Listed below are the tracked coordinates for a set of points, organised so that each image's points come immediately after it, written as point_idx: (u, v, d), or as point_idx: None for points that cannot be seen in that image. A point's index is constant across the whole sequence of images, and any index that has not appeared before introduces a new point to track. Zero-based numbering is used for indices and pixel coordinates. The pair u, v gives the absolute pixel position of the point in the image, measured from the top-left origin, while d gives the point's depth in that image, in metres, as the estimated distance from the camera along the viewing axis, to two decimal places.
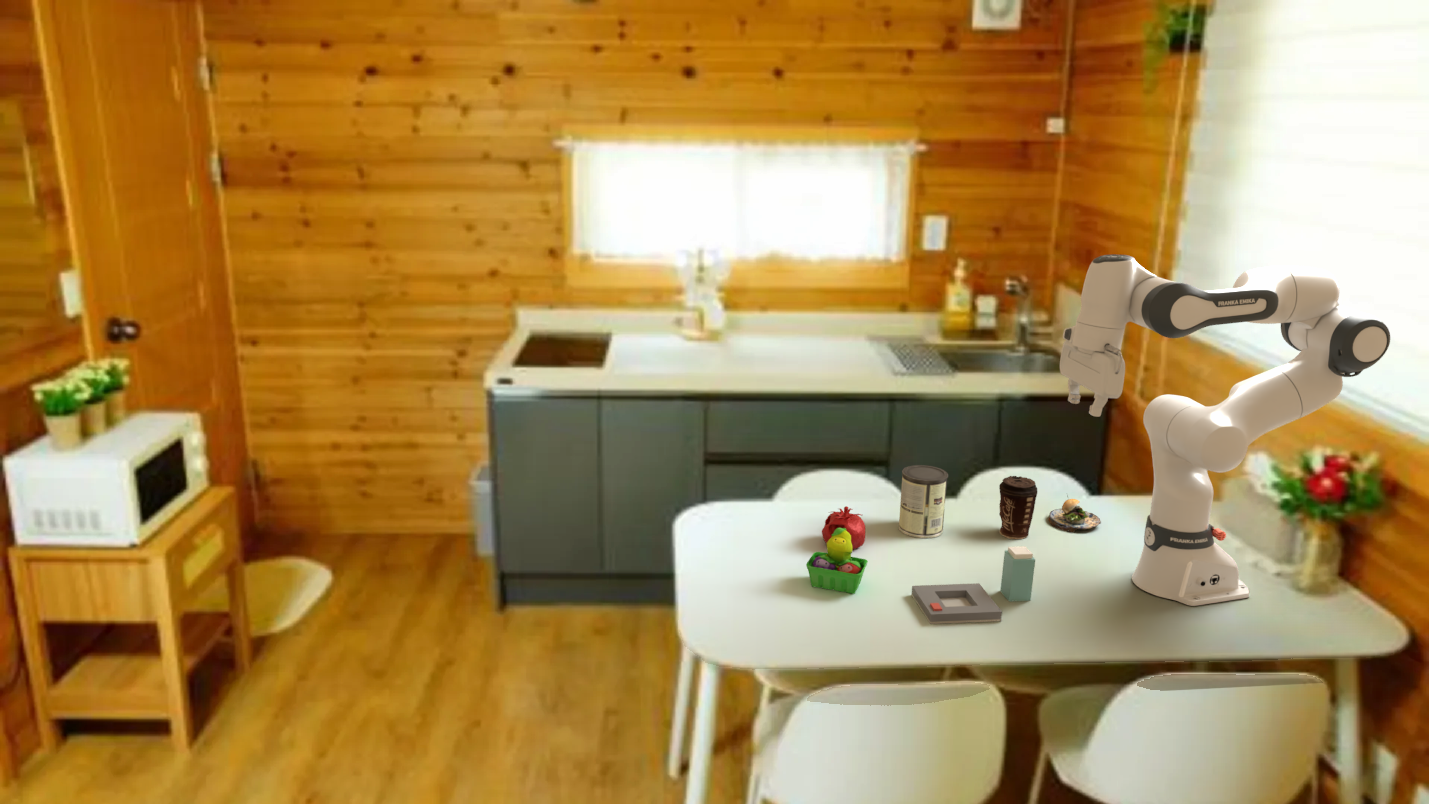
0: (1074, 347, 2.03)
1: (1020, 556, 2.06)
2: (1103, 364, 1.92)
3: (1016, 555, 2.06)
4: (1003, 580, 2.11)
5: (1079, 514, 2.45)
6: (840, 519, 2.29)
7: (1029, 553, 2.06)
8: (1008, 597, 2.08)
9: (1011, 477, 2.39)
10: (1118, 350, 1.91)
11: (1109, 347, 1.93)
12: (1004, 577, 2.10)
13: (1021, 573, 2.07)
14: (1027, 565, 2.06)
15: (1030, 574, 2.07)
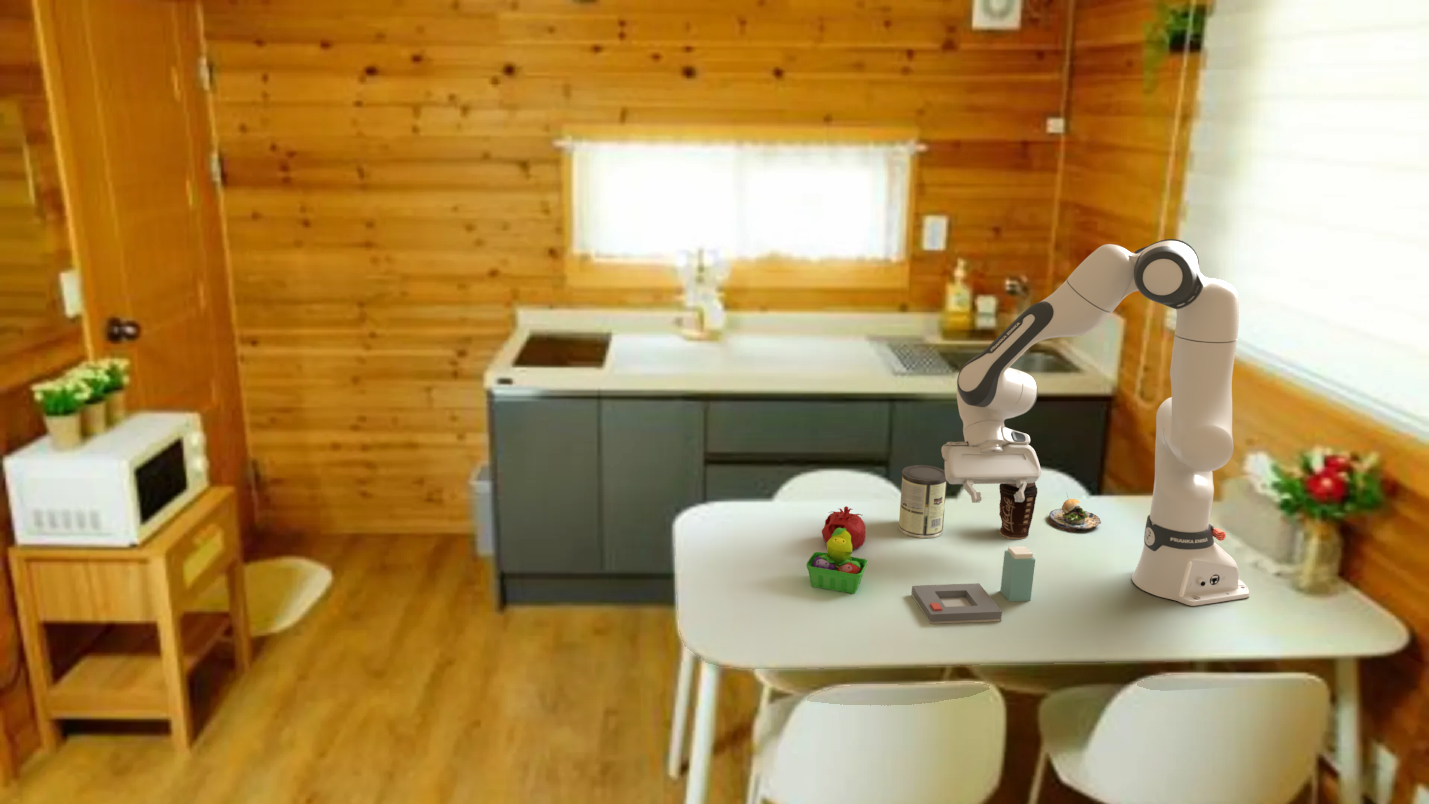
0: None
1: (1020, 556, 2.06)
2: None
3: (1016, 555, 2.06)
4: (1003, 580, 2.11)
5: (1079, 514, 2.45)
6: (840, 519, 2.29)
7: (1029, 553, 2.06)
8: (1008, 597, 2.08)
9: None
10: None
11: None
12: (1004, 577, 2.10)
13: (1021, 573, 2.07)
14: (1027, 565, 2.06)
15: (1030, 574, 2.07)
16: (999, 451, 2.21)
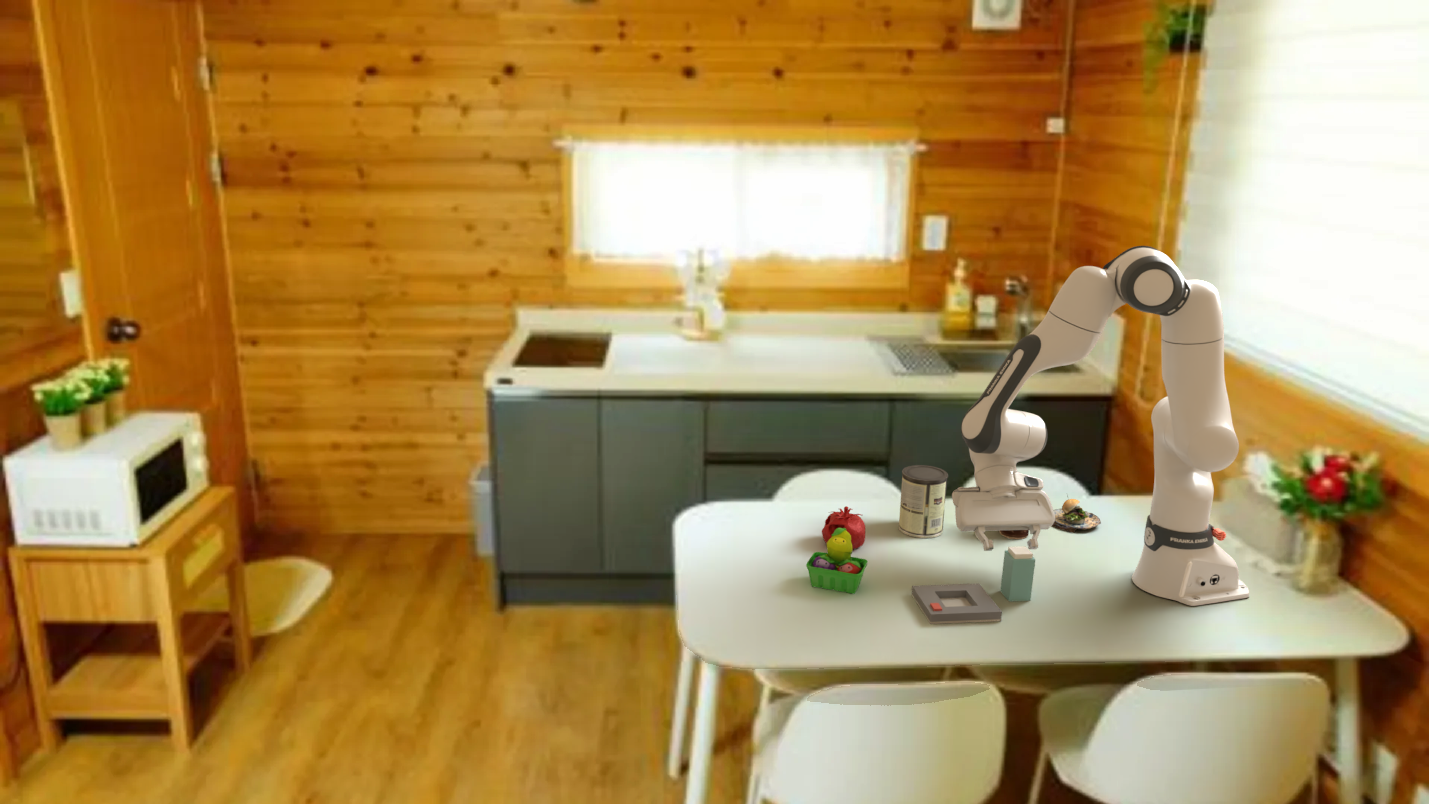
0: None
1: (1020, 556, 2.06)
2: None
3: (1016, 555, 2.06)
4: (1003, 580, 2.11)
5: (1079, 514, 2.45)
6: (840, 519, 2.29)
7: (1029, 553, 2.06)
8: (1008, 597, 2.08)
9: None
10: None
11: None
12: (1004, 577, 2.10)
13: (1021, 573, 2.07)
14: (1027, 565, 2.06)
15: (1030, 574, 2.07)
16: (1011, 497, 2.15)
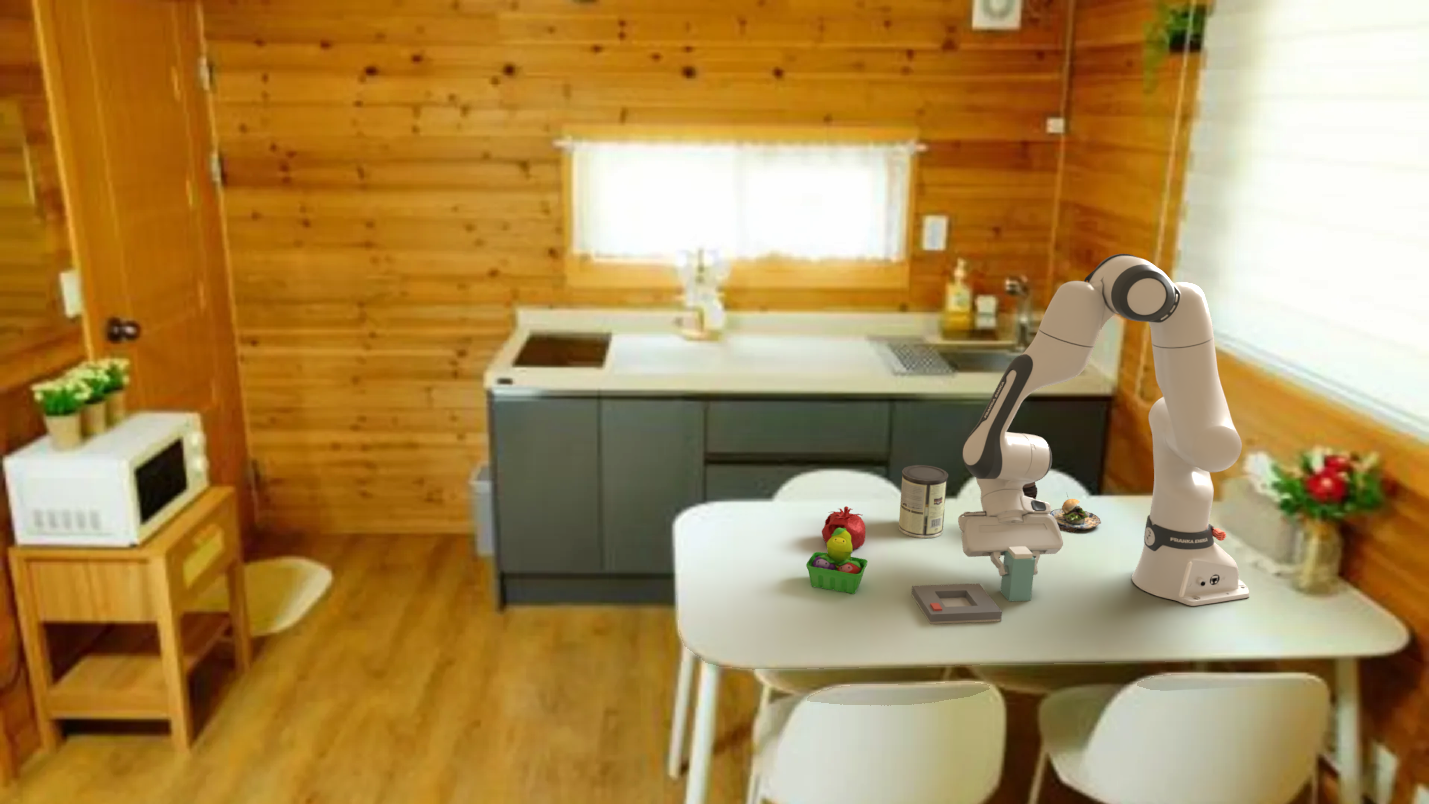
0: None
1: (1020, 556, 2.06)
2: None
3: (1016, 555, 2.06)
4: (1003, 580, 2.11)
5: (1079, 514, 2.45)
6: (840, 519, 2.29)
7: (1029, 553, 2.06)
8: (1008, 597, 2.08)
9: None
10: None
11: None
12: (1004, 577, 2.10)
13: (1021, 573, 2.07)
14: (1027, 565, 2.06)
15: (1030, 574, 2.07)
16: (1019, 521, 2.12)
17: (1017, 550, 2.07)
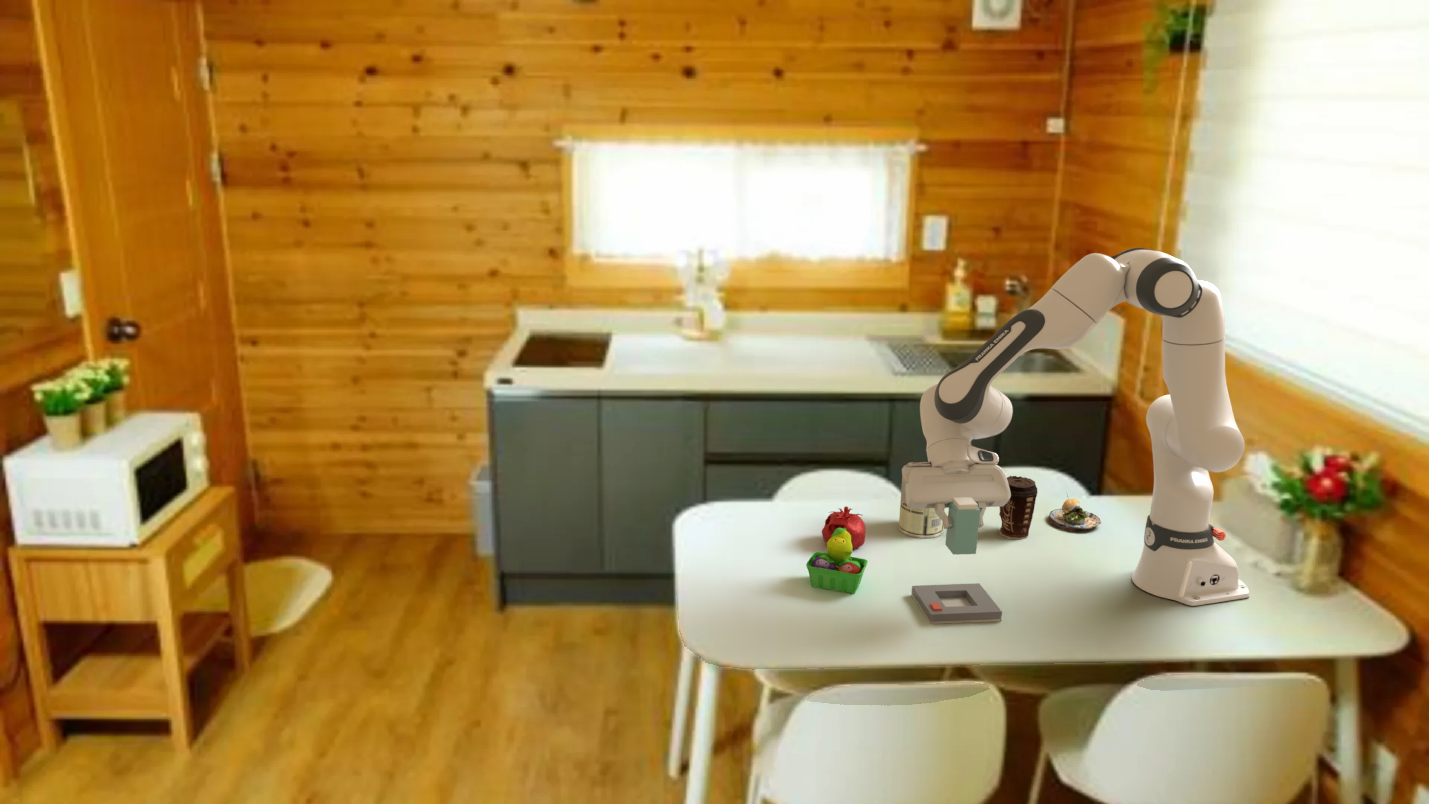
0: None
1: (964, 507, 1.97)
2: None
3: (960, 506, 1.97)
4: (948, 533, 2.02)
5: (1079, 514, 2.45)
6: (840, 519, 2.29)
7: (974, 504, 1.97)
8: (952, 550, 1.99)
9: (1011, 477, 2.39)
10: (907, 464, 2.05)
11: None
12: (948, 529, 2.01)
13: (966, 524, 1.98)
14: (971, 516, 1.97)
15: (975, 526, 1.98)
16: (965, 472, 2.03)
17: (962, 501, 1.99)
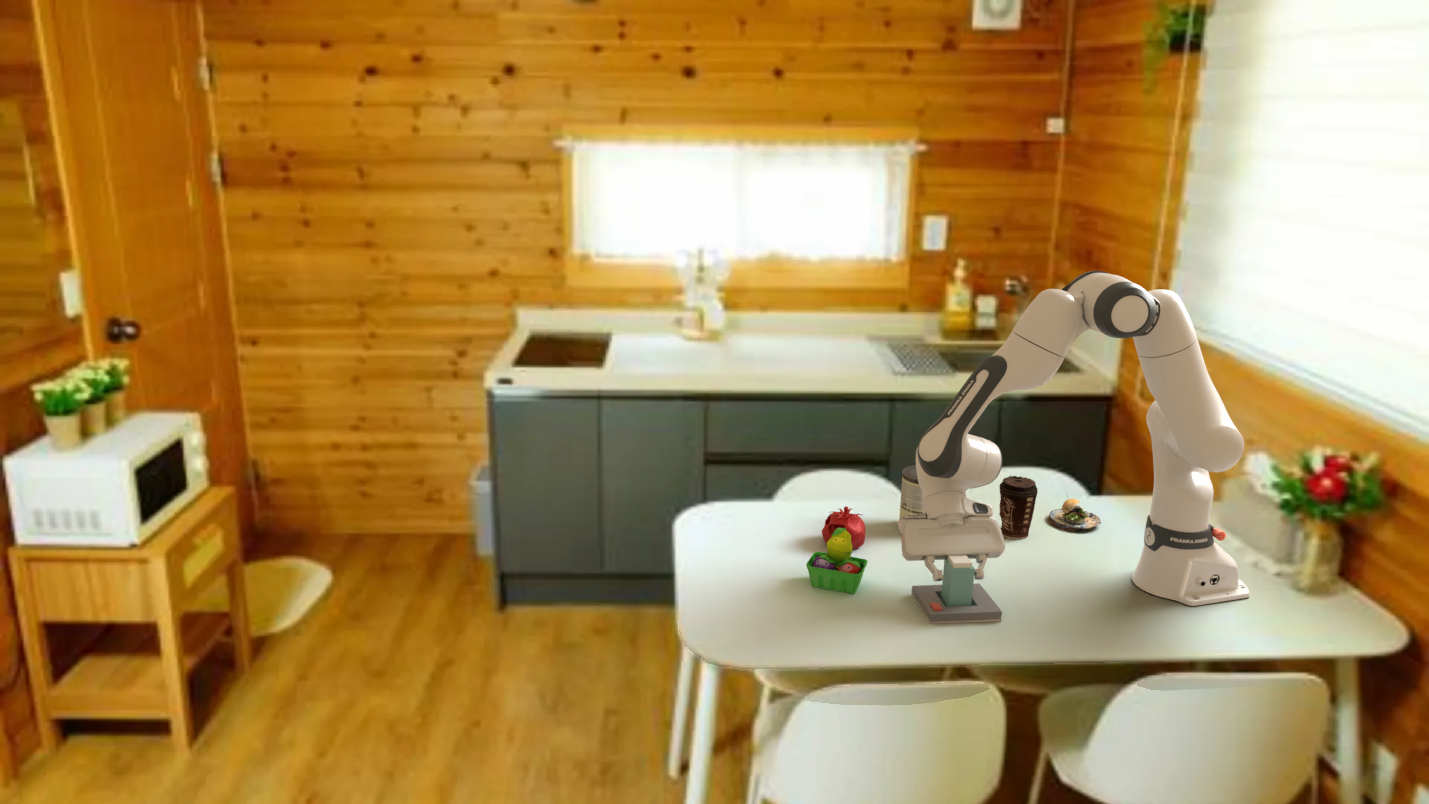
0: None
1: (959, 565, 2.00)
2: None
3: (955, 564, 2.00)
4: (943, 589, 2.05)
5: (1079, 514, 2.45)
6: (840, 519, 2.29)
7: (968, 562, 2.01)
8: None
9: (1011, 477, 2.39)
10: None
11: None
12: (944, 586, 2.05)
13: (960, 582, 2.01)
14: (966, 574, 2.01)
15: (970, 583, 2.01)
16: (960, 524, 2.06)
17: (956, 559, 2.02)
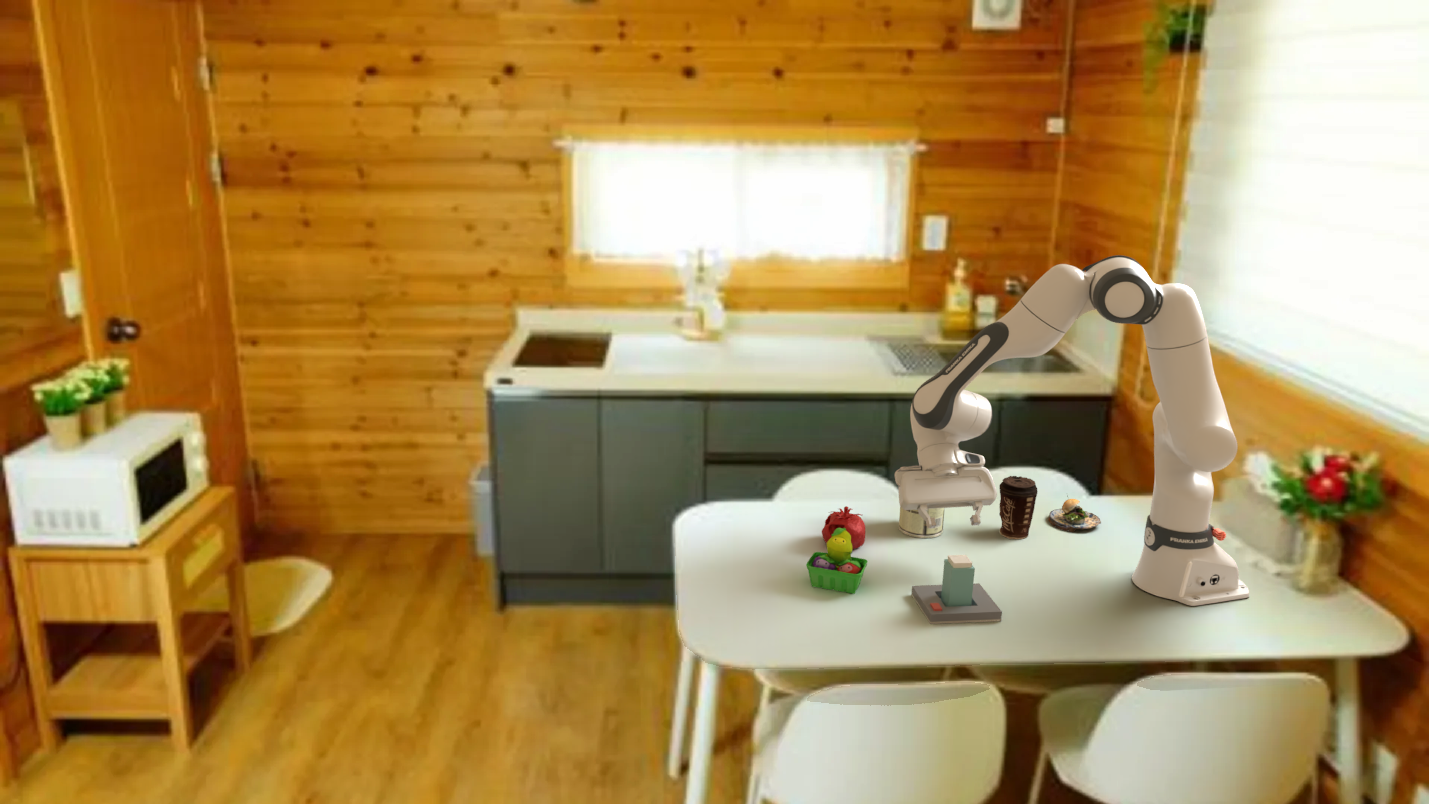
0: None
1: (959, 565, 2.00)
2: None
3: (955, 564, 2.00)
4: (943, 589, 2.05)
5: (1079, 514, 2.45)
6: (840, 519, 2.29)
7: (968, 562, 2.01)
8: None
9: (1011, 477, 2.39)
10: (900, 468, 2.19)
11: None
12: (944, 586, 2.05)
13: (960, 582, 2.01)
14: (966, 574, 2.01)
15: (970, 583, 2.01)
16: (953, 474, 2.17)
17: (956, 559, 2.02)
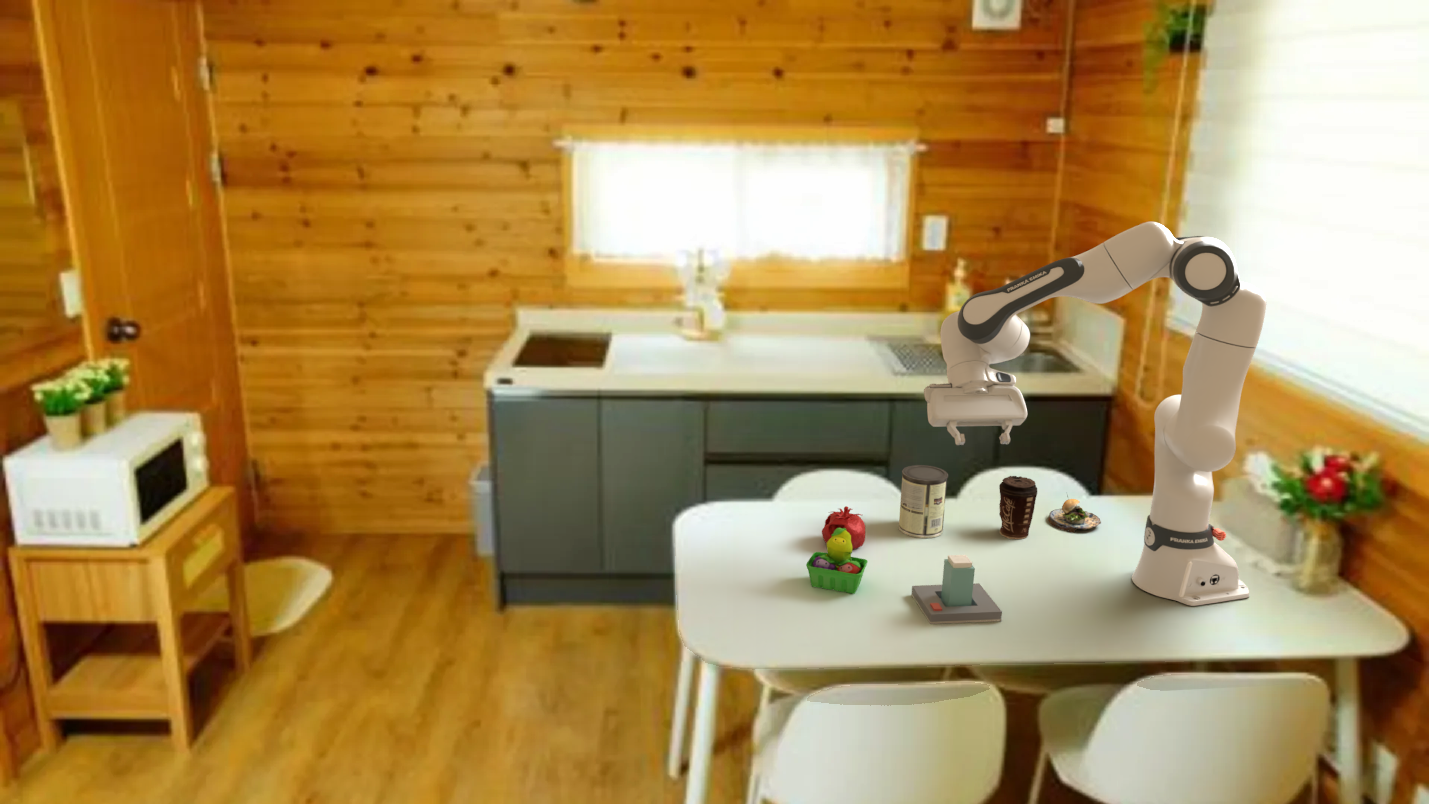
0: None
1: (959, 565, 2.00)
2: None
3: (955, 564, 2.00)
4: (943, 589, 2.05)
5: (1079, 514, 2.45)
6: (840, 519, 2.29)
7: (968, 562, 2.01)
8: None
9: (1011, 477, 2.39)
10: (929, 385, 2.16)
11: None
12: (944, 586, 2.05)
13: (960, 582, 2.01)
14: (966, 574, 2.01)
15: (970, 583, 2.01)
16: (983, 392, 2.13)
17: (956, 559, 2.02)
